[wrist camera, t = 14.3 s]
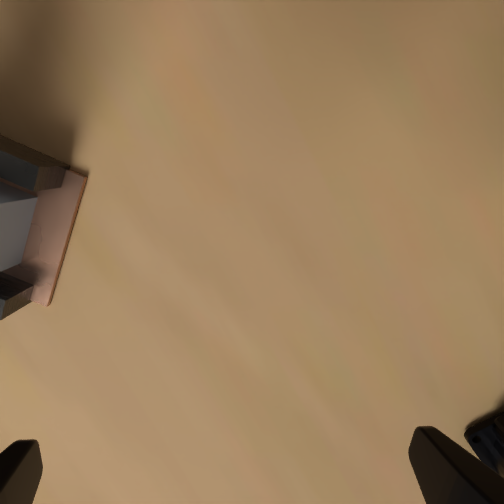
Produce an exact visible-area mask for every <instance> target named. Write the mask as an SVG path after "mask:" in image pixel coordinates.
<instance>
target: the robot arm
mask: <svg viewBox="0 0 504 504" xmlns="http://www.w3.org/2000/svg"><path fill="white" fill-rule="evenodd" d="M475 436H476V437H475ZM464 437H465V439H466V440H467V442H468V443H469V445H470V446H471V447H472V449H473V450H474V452H475V453H476V455H477V456H478V457H479V459H480V460H481V461H480V460H479V459H477V458H476V457H475V456H473V455H472V454H471V453H469V452H468V451H466V450H465V449H464V448H462V447H461V446H460V445H458V444H457V443H456V442H454V441H453V440H451V439H450V438H449V437H447V436H446V435H445V434H443V433H442V432H441V431H439V430H438V429H436V428H435V427H432V426H419V427H417V428H416V429H415V431H414V434H413V437H412V440H411V443H410V446H409V452H408V453H409V459H410V462H411V465H412V467H413V470H414V473H415V475H416V478H417V481H418V483H419V486H420V489H421V491H422V494H423V496H424V499H425V502H426V504H504V412H502V413H500V414H498V415H496V416H494V417H491V418H489V419H487V420H485V421H483V422H481V423H479V424H477V425H475V426H473V427H471V428H469V429H468V430H466V432H465V433H464ZM473 437H474V438H473ZM42 470H43V464H42V459H41V453H40V448H39V443H38V441H37V440H34V439H30V440H17V441H15V442H13V443H12V444H11V445H10V446H8V447H7V448H6V449H5V450H4V451H2V452H1V453H0V504H32V503H33V500H34V497H35V494H36V491H37V488H38V485H39V482H40V479H41V476H42Z"/></svg>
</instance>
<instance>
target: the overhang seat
mask: <svg viewBox="0 0 504 504" xmlns="http://www.w3.org/2000/svg"><path fill="white" fill-rule="evenodd" d="M86 180H87V177H86V176H83V175H81V174H79V173H76V172H74V171H72V170H70V165H67V164H65V163H63V162H61V161H58V160H56V159H54V158H52V157H49V156H47V155H45V154H42V153H40V152H38V151H36V150H33V149H31V148H29V147H26V146H24V145H22V144H20V143H17V142H15V141H13V140H11V139H8V138H6V137H4V136H1V135H0V181H1V182H3V183H5V184H8V185H10V186H12V187H15V188H17V189H19V190H22V191H24V192H26V193H29V194H31V195H33V196H36V197H38V198H37V202H36V206H35V210H34V214H33V218H32V221H31V225H30V229H29V233H28V237H27V241H26V245H25V249H24V253H23V257H22V260H21V263H20V264H18V265H15V266H13V267H10V268H8V269H6V270H3V271H1V272H0V320H2V319H4V318H5V317H7V316H9V315H10V314H12V313H14V312H15V311H17V310H19V309H20V308H22V307H24V306H25V305H27V304H29V303H30V302H32V301H34V302H36V303H38V304H41V305H43V306H46V307H47V306H49V305H50V303H51V299H52V296H53V292H54V289H55V286H56V282H57V279H58V275H59V272H60V269H61V265H62V262H63V258H64V255H65V252H66V248H67V245H68V242H69V238H70V235H71V231H72V228H73V225H74V221H75V218H76V214H77V211H78V208H79V204H80V201H81V197H82V194H83V191H84V187H85V184H86Z"/></svg>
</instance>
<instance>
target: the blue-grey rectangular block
mask: <svg viewBox="0 0 504 504" xmlns="http://www.w3.org/2000/svg"><path fill="white" fill-rule="evenodd" d="M37 198H38V197H36V196H33V195H31V194H29V193H26V192H24V191H22V190H19V189H17V188H15V187H12V186H10V185H8V184H5V183H3V182H1V181H0V272H1V271H3V270H6V269H8V268H10V267H13V266H15V265H18V264H20V263H21V260H22V257H23V253H24V249H25V245H26V241H27V237H28V233H29V229H30V225H31V221H32V218H33V214H34V210H35V206H36V202H37Z"/></svg>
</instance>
